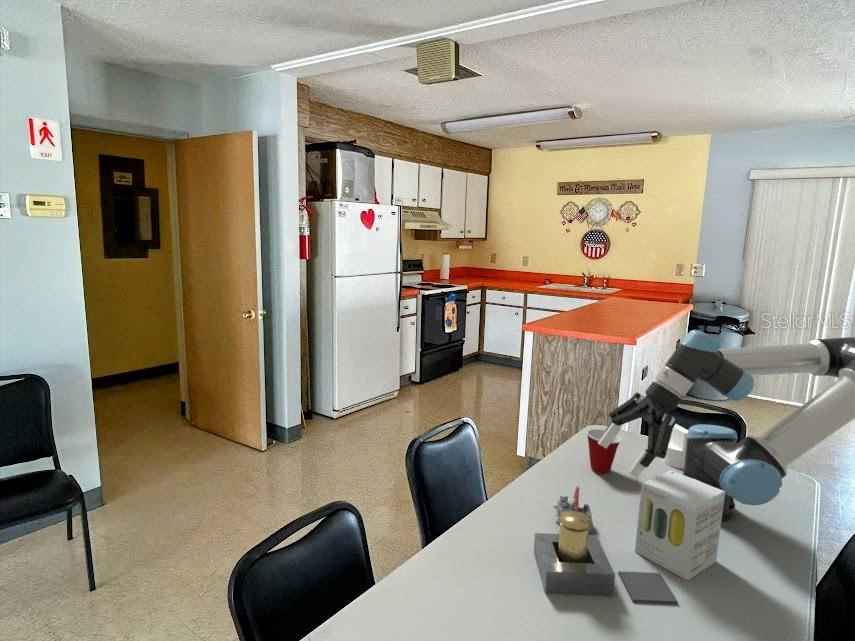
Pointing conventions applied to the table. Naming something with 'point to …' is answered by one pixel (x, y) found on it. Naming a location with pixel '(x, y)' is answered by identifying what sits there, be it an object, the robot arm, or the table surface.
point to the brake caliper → (572, 506)
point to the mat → (647, 587)
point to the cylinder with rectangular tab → (676, 448)
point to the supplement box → (679, 523)
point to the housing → (573, 568)
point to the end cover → (573, 537)
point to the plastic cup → (601, 451)
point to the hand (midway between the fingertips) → (616, 459)
